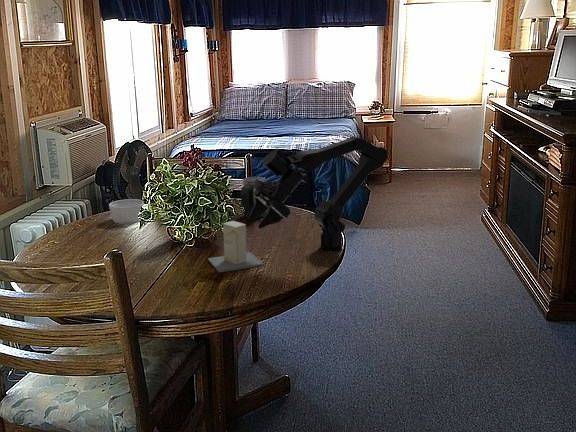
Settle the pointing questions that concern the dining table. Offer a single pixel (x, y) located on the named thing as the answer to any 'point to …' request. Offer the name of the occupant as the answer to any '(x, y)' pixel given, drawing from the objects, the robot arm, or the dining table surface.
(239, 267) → the slate mat
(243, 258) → the skincare box
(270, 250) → the dining table surface
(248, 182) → the milk frother
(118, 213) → the white bowl
